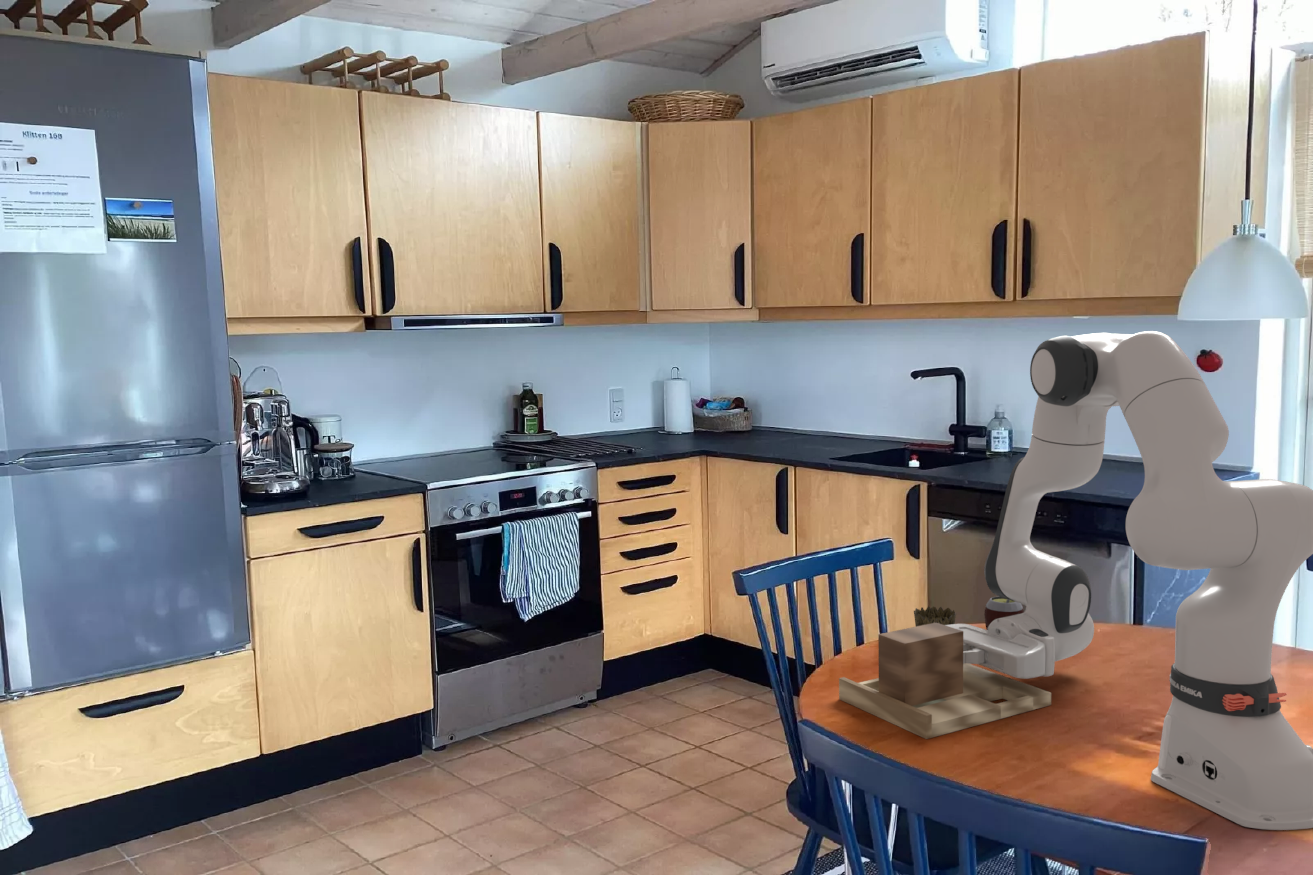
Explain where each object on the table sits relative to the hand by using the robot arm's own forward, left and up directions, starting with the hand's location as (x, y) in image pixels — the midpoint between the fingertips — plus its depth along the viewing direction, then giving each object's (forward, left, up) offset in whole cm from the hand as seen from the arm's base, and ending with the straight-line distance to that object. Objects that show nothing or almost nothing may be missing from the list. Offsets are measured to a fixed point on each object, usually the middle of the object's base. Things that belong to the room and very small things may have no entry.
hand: (950, 657), depth 169 cm
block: (-2, +6, -5) cm, 8 cm away
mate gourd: (+27, -24, -7) cm, 37 cm away
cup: (+23, -8, -7) cm, 26 cm away
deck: (-1, +1, -7) cm, 7 cm away
